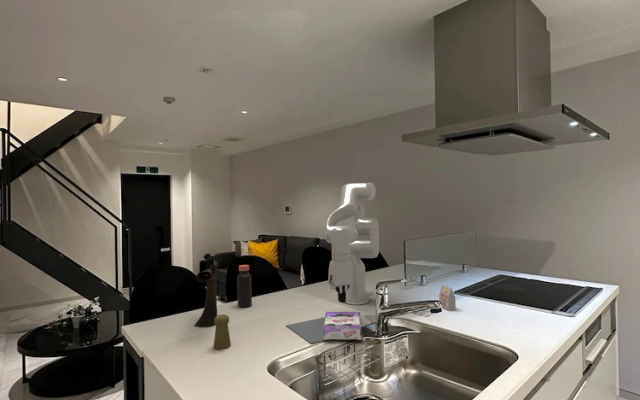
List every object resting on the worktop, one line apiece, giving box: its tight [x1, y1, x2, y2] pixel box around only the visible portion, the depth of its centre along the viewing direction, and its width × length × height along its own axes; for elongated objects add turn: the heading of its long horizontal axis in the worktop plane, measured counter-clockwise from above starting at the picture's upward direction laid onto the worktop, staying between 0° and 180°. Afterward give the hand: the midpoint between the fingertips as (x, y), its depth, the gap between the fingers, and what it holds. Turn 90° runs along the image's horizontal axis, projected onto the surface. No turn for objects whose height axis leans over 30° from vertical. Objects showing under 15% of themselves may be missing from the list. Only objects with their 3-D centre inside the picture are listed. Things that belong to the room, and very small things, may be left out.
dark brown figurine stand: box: [194, 252, 218, 328], centre depth 149 cm, size 31×10×30 cm, turn 11°
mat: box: [285, 316, 332, 345], centre depth 139 cm, size 18×22×1 cm
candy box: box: [324, 311, 362, 341], centre depth 134 cm, size 14×6×16 cm
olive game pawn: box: [213, 314, 232, 351], centre depth 126 cm, size 6×6×11 cm
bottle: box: [236, 264, 253, 309], centre depth 175 cm, size 7×7×20 cm
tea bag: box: [438, 285, 457, 312], centre depth 163 cm, size 4×7×10 cm, turn 16°
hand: (342, 301), depth 145 cm, fingers closed
